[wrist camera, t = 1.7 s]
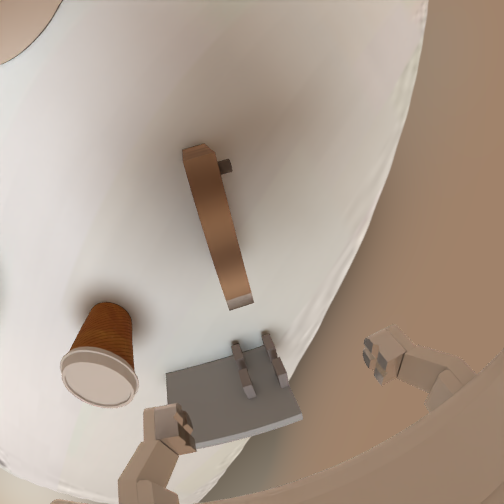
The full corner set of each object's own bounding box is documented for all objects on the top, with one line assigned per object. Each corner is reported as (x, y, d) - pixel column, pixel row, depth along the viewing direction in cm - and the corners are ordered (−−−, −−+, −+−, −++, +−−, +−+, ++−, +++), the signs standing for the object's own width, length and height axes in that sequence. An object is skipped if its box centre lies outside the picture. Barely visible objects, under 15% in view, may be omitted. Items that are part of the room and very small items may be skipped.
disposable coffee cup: (154, 312, 35) (152, 381, 25) (127, 352, 37) (122, 418, 27) (92, 279, 31) (67, 344, 21) (72, 326, 33) (52, 389, 23)
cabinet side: (157, 361, 39) (160, 438, 27) (267, 329, 42) (300, 402, 29) (170, 380, 42) (177, 452, 30) (272, 350, 44) (302, 419, 32)
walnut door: (182, 149, 28) (183, 161, 19) (216, 140, 28) (233, 147, 19) (215, 260, 34) (229, 310, 26) (244, 251, 35) (268, 298, 26)
